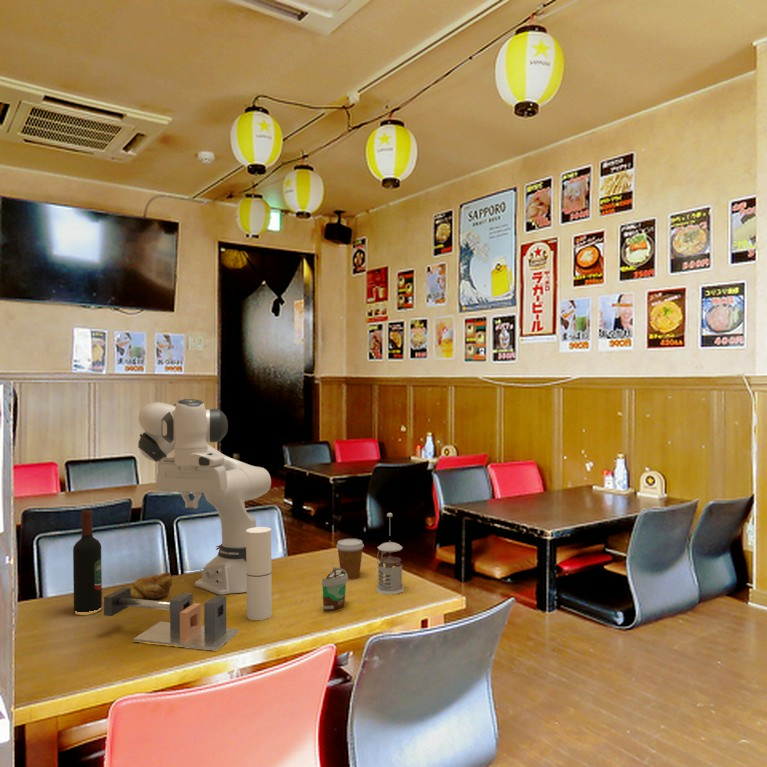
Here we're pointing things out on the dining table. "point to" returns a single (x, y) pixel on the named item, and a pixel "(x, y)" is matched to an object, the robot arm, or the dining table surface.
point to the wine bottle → (87, 568)
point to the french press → (389, 568)
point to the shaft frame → (206, 638)
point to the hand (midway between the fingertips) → (191, 507)
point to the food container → (334, 590)
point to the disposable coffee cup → (350, 556)
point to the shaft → (128, 602)
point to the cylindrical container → (258, 573)
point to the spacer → (185, 626)
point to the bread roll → (152, 587)
